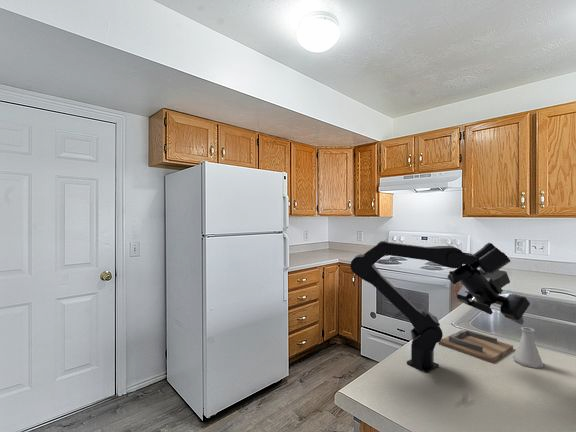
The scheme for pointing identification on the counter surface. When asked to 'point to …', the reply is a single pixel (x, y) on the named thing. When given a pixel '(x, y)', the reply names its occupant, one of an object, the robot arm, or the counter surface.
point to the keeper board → (476, 345)
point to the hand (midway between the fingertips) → (506, 318)
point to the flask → (527, 350)
